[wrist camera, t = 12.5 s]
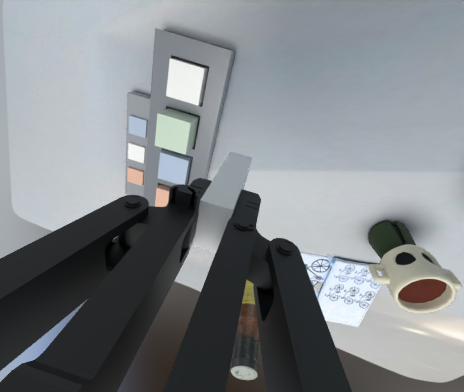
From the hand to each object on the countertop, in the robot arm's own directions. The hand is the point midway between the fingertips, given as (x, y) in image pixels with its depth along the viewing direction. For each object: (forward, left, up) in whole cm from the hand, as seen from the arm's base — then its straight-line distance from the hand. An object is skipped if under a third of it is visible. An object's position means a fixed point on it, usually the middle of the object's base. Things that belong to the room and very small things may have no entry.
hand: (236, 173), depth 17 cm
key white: (+10, -2, -22) cm, 25 cm away
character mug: (-28, +13, -23) cm, 38 cm away
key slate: (+10, +11, -22) cm, 27 cm away
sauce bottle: (-9, +31, -23) cm, 40 cm away
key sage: (+10, +5, -20) cm, 23 cm away
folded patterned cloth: (-24, +31, -23) cm, 45 cm away
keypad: (+12, +11, -23) cm, 28 cm away
